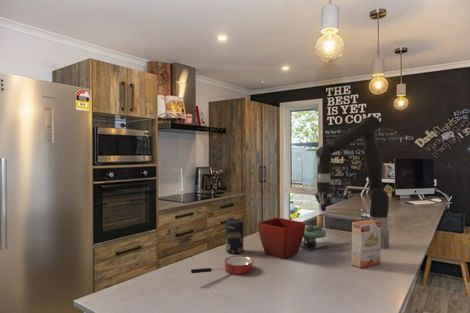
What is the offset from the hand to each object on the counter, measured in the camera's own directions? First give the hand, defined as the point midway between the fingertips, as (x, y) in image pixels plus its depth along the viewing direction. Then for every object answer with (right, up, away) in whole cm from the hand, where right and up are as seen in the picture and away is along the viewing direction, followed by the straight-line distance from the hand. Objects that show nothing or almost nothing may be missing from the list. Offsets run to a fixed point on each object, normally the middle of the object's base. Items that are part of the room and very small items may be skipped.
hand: (323, 210), depth 180 cm
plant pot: (-26, -21, -15) cm, 37 cm away
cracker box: (+12, -21, -31) cm, 39 cm away
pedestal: (-8, -20, -1) cm, 22 cm away
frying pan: (-56, -21, -44) cm, 75 cm away
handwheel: (-8, -13, -1) cm, 16 cm away
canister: (-52, -21, -12) cm, 57 cm away
